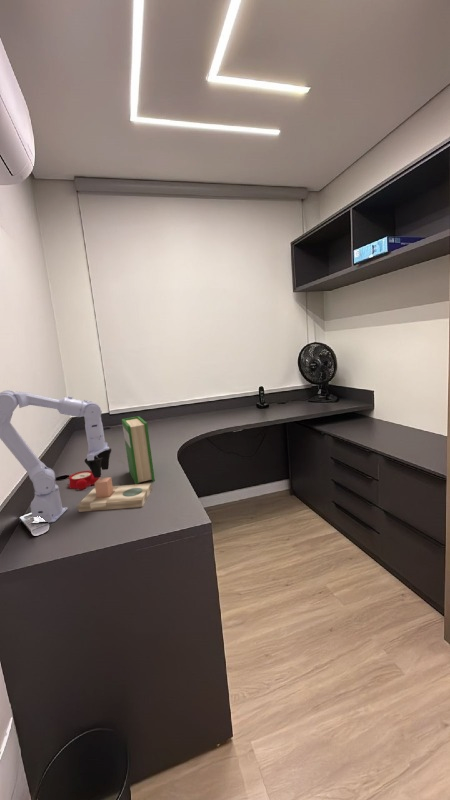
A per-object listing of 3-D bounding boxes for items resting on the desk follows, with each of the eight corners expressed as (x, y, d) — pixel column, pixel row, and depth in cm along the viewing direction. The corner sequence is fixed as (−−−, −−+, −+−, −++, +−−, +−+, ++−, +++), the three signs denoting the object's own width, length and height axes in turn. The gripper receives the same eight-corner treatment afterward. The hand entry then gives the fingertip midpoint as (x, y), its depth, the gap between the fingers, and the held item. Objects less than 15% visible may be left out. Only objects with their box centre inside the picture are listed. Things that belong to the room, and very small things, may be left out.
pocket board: (142, 506, 117) (141, 499, 116) (78, 511, 118) (77, 504, 117) (151, 489, 131) (151, 483, 130) (95, 494, 132) (93, 487, 131)
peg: (110, 503, 122) (106, 482, 121) (98, 504, 122) (94, 483, 121) (114, 497, 126) (111, 477, 125) (102, 498, 127) (99, 478, 125)
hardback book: (154, 480, 139) (146, 423, 135) (136, 485, 136) (127, 426, 133) (146, 468, 155) (139, 416, 151) (129, 472, 152) (121, 419, 149)
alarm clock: (85, 469, 151) (101, 467, 141) (89, 482, 151) (105, 481, 141) (61, 477, 144) (77, 476, 134) (65, 492, 144) (81, 491, 134)
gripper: (99, 441, 114) (105, 480, 116) (113, 430, 128) (118, 465, 130) (78, 443, 114) (84, 481, 116) (94, 431, 128) (100, 466, 130)
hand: (101, 473), depth 123 cm, fingers open, 7 cm apart
